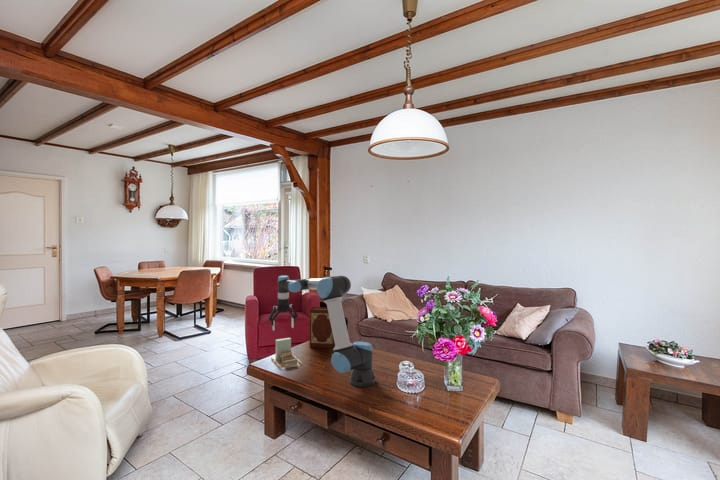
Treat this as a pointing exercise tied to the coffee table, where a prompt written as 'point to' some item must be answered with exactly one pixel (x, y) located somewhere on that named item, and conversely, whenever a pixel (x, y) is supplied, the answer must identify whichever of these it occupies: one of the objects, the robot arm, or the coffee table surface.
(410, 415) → the coffee table surface
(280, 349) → the sage board
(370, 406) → the coffee table surface
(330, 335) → the decorative book
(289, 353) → the offcut oak
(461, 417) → the coffee table surface
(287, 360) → the rack
